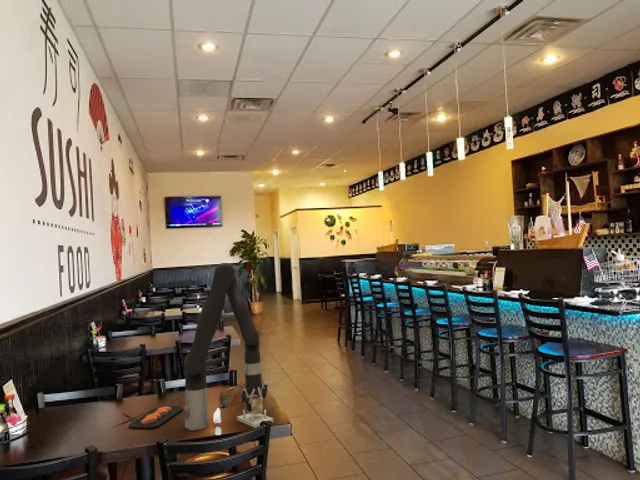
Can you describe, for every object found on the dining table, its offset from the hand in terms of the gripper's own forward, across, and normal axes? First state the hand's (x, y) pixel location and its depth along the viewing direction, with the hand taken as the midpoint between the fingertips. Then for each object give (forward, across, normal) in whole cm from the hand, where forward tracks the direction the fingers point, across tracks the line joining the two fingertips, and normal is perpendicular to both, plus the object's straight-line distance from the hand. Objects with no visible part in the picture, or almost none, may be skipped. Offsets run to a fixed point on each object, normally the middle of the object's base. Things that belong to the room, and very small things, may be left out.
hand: (254, 409), depth 228 cm
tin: (+5, +6, +31) cm, 32 cm away
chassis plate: (+5, 0, 0) cm, 5 cm away
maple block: (+1, 0, 0) cm, 1 cm away
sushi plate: (+6, -35, +44) cm, 57 cm away
